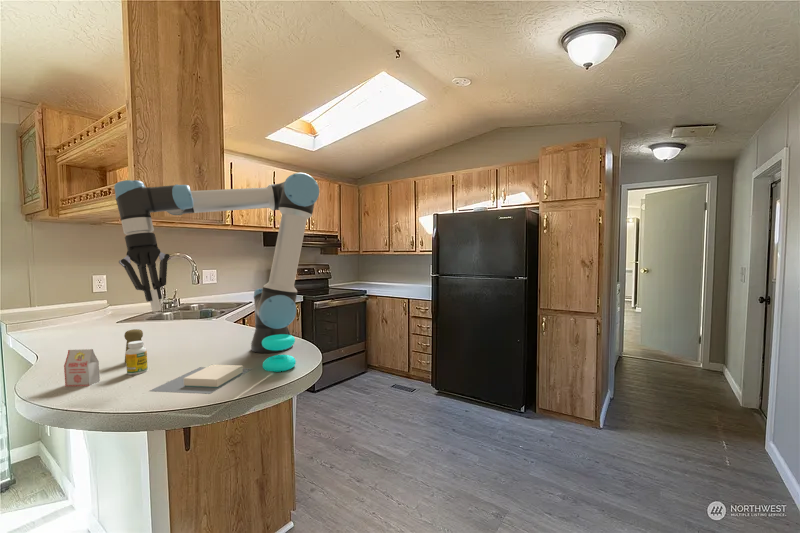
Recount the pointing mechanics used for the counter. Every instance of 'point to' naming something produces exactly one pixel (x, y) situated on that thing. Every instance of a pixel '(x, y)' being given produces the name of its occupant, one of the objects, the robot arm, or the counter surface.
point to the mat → (179, 386)
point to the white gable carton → (81, 368)
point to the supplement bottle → (136, 358)
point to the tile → (213, 376)
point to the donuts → (278, 361)
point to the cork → (132, 337)
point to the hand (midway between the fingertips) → (156, 311)
